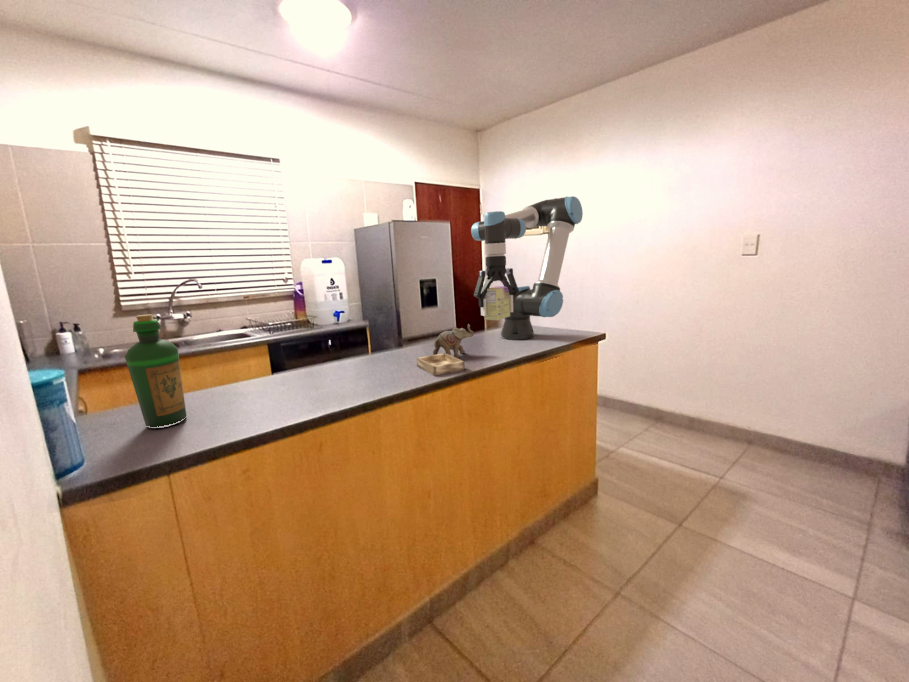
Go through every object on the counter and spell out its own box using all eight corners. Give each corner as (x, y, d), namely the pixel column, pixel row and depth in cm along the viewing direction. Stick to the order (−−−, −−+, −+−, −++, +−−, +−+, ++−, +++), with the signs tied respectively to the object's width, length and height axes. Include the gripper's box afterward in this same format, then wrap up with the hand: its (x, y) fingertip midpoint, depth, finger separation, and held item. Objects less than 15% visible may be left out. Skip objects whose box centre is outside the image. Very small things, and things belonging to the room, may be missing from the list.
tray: (445, 360, 149) (445, 353, 149) (464, 369, 137) (464, 361, 136) (417, 366, 144) (416, 358, 143) (434, 375, 131) (433, 367, 131)
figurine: (467, 367, 152) (475, 330, 147) (430, 360, 152) (437, 323, 147) (467, 359, 161) (475, 324, 157) (433, 352, 161) (439, 317, 156)
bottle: (183, 428, 98) (160, 316, 92) (133, 435, 95) (106, 320, 89) (197, 412, 108) (177, 310, 102) (152, 418, 105) (128, 314, 99)
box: (497, 315, 158) (496, 285, 155) (510, 316, 155) (509, 286, 152) (483, 320, 150) (482, 288, 147) (497, 321, 146) (496, 288, 144)
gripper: (515, 254, 156) (516, 309, 160) (462, 257, 145) (465, 316, 150) (527, 253, 149) (528, 311, 154) (473, 257, 138) (475, 318, 143)
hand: (497, 313), depth 152 cm, fingers closed on box, 11 cm apart
